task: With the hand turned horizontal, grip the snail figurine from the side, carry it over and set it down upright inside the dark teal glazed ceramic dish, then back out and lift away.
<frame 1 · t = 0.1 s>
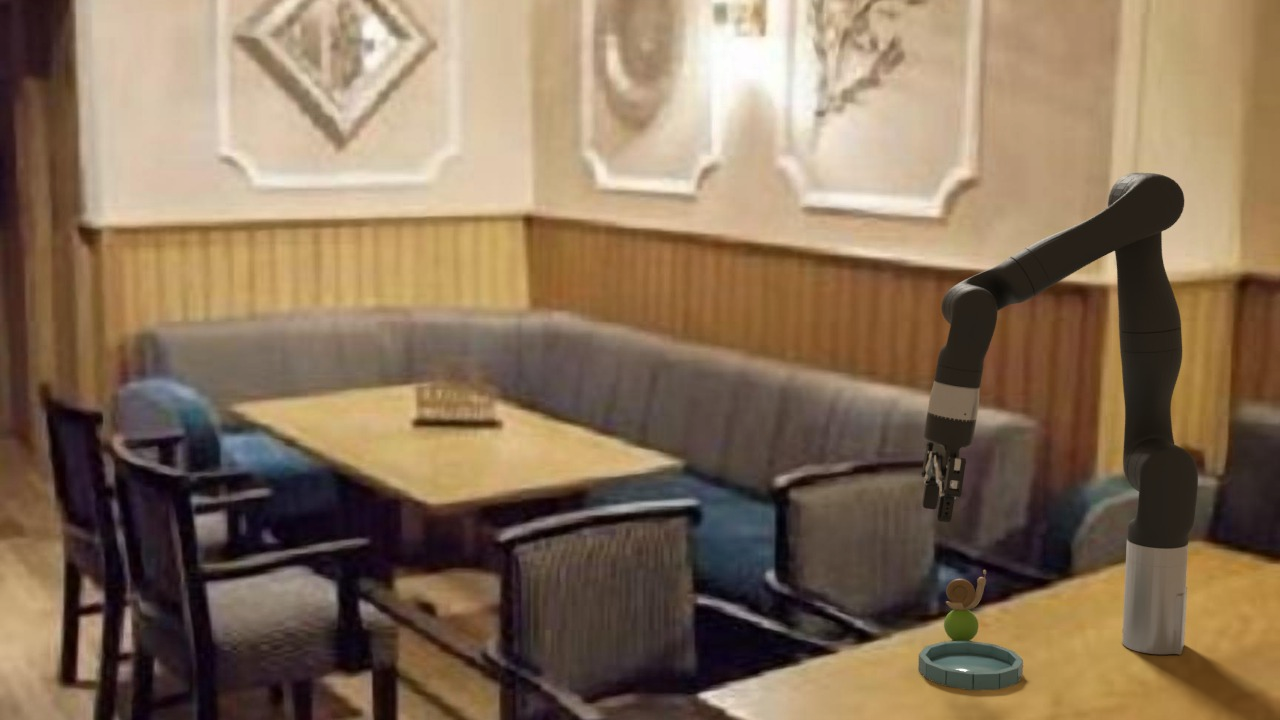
hand: (935, 514, 237), 22 cm above the table, tool pointing down, fingers open, 8 cm apart
dish: (970, 672, 231), on the table
snail figurine: (963, 642, 245), on the table
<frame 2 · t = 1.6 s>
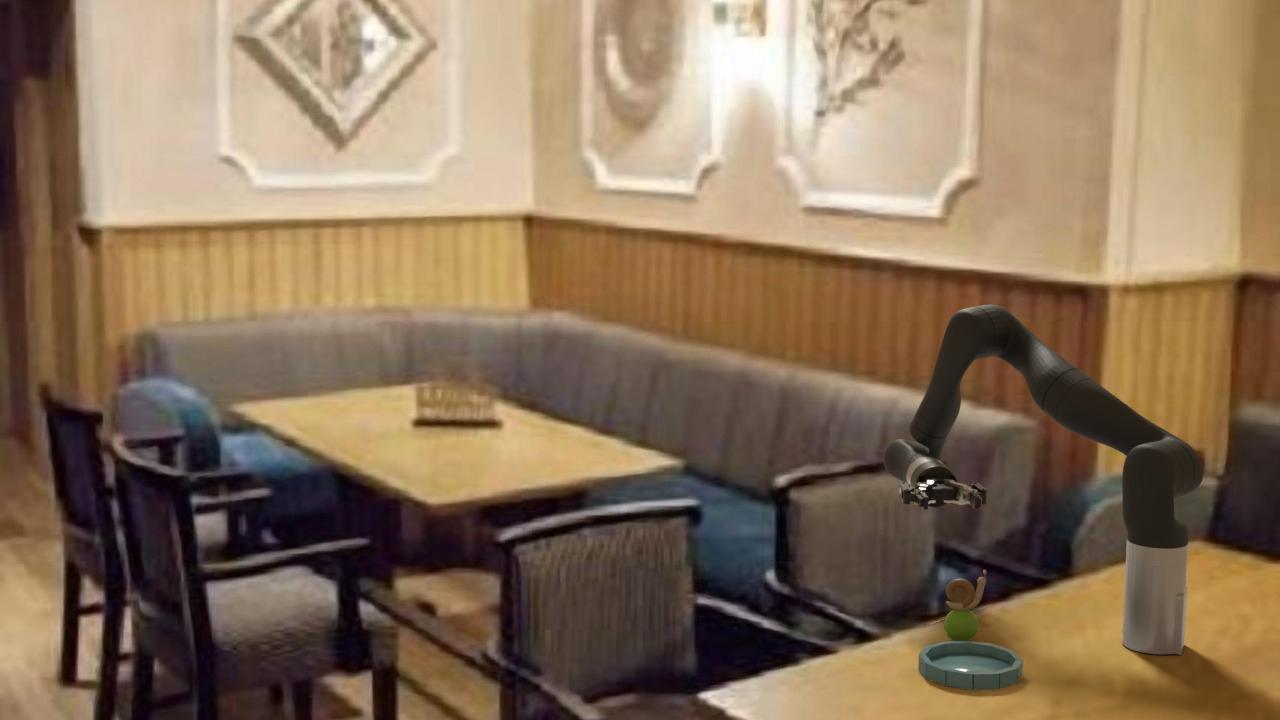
hand: (951, 503, 253), 20 cm above the table, tool horizontal, fingers open, 8 cm apart
nothing on the table moved.
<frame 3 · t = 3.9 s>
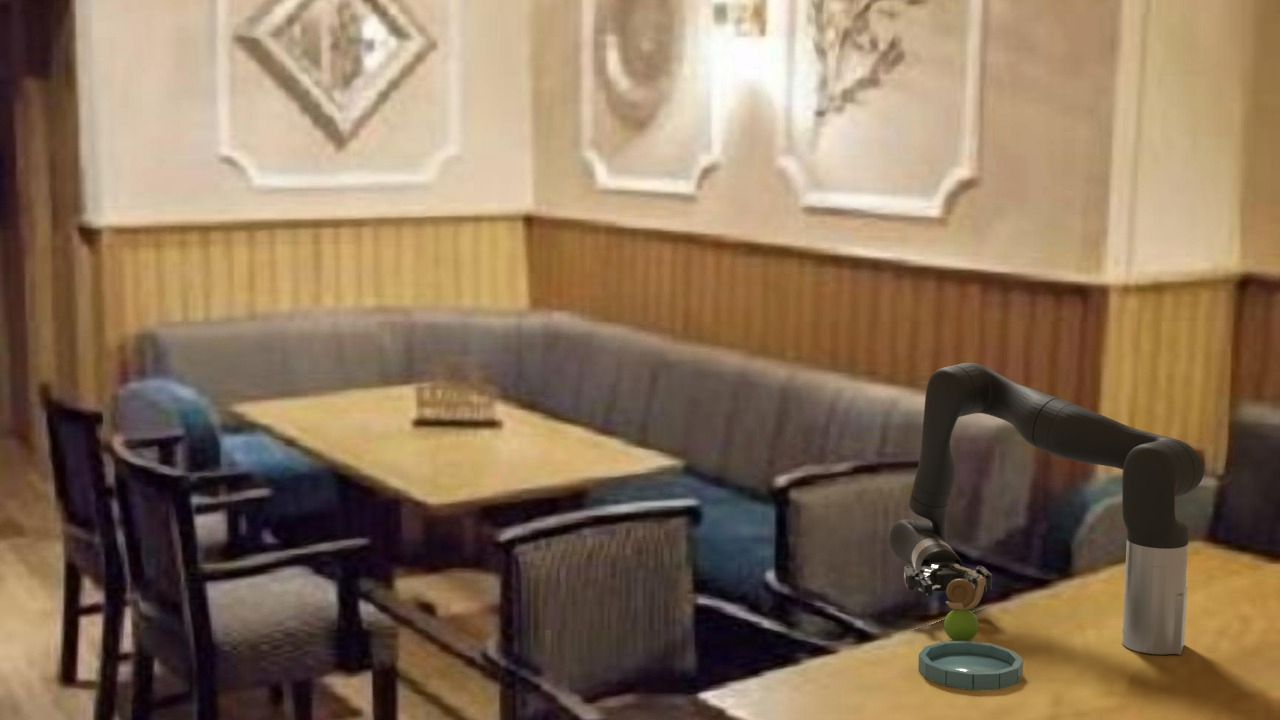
hand: (956, 590, 251), 6 cm above the table, tool horizontal, fingers open, 8 cm apart
nothing on the table moved.
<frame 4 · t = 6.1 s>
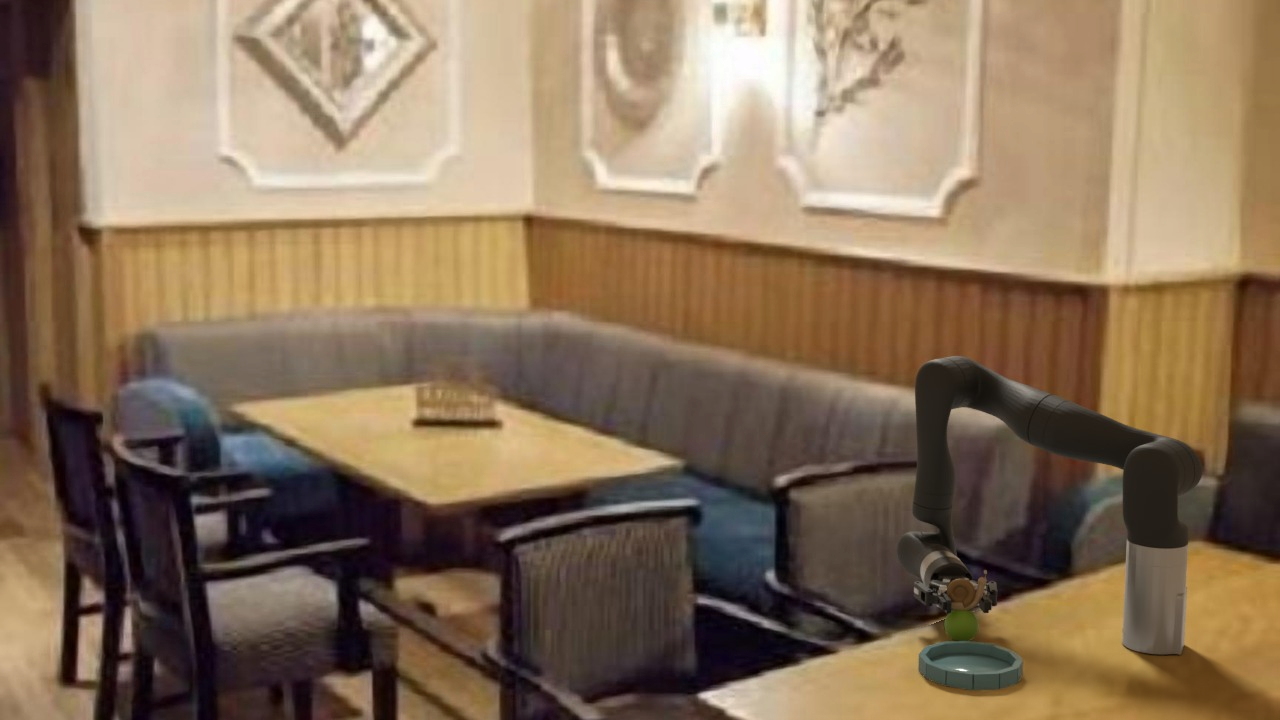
hand: (968, 607, 242), 7 cm above the table, tool horizontal, fingers closed on snail figurine, 5 cm apart
snail figurine: (963, 642, 245), on the table, touching gripper
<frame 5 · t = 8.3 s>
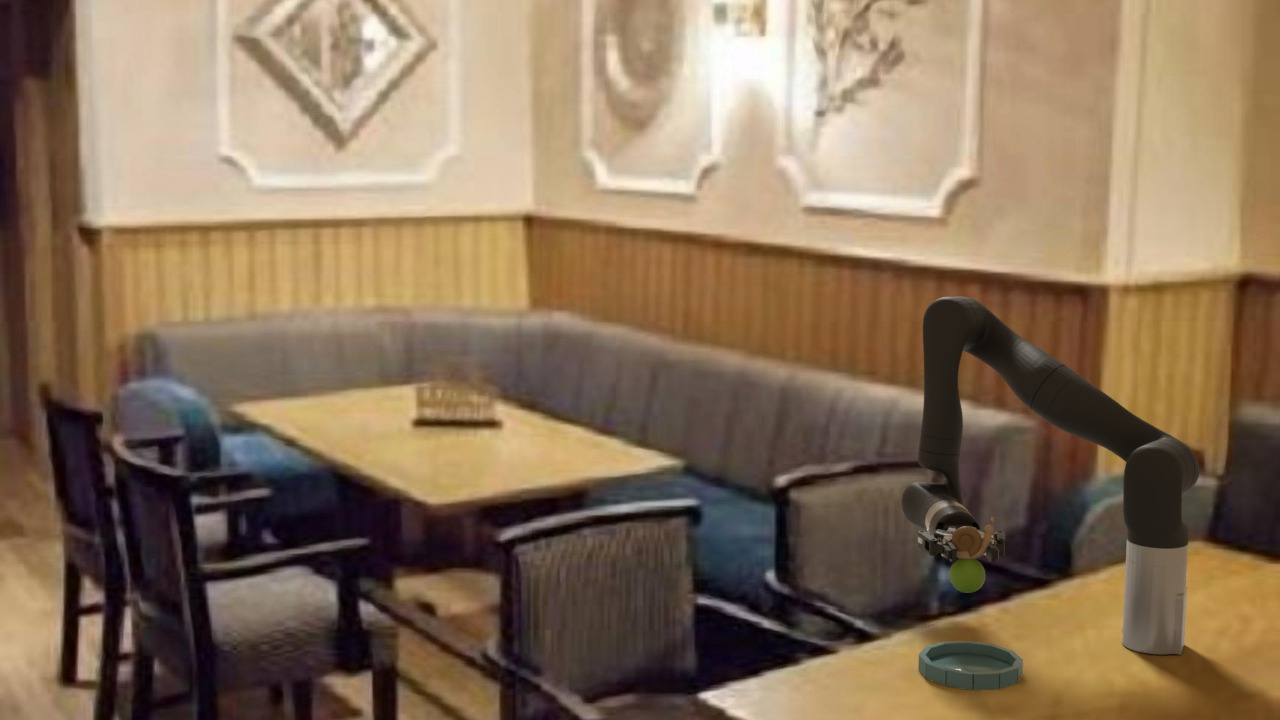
hand: (973, 555, 231), 18 cm above the table, tool horizontal, fingers closed on snail figurine, 5 cm apart
snail figurine: (969, 593, 234), point 11 cm above the table, touching gripper
when the fingers open (8 cm above the table, at t = 10.9 s): snail figurine moves 1 cm, resting on dish.
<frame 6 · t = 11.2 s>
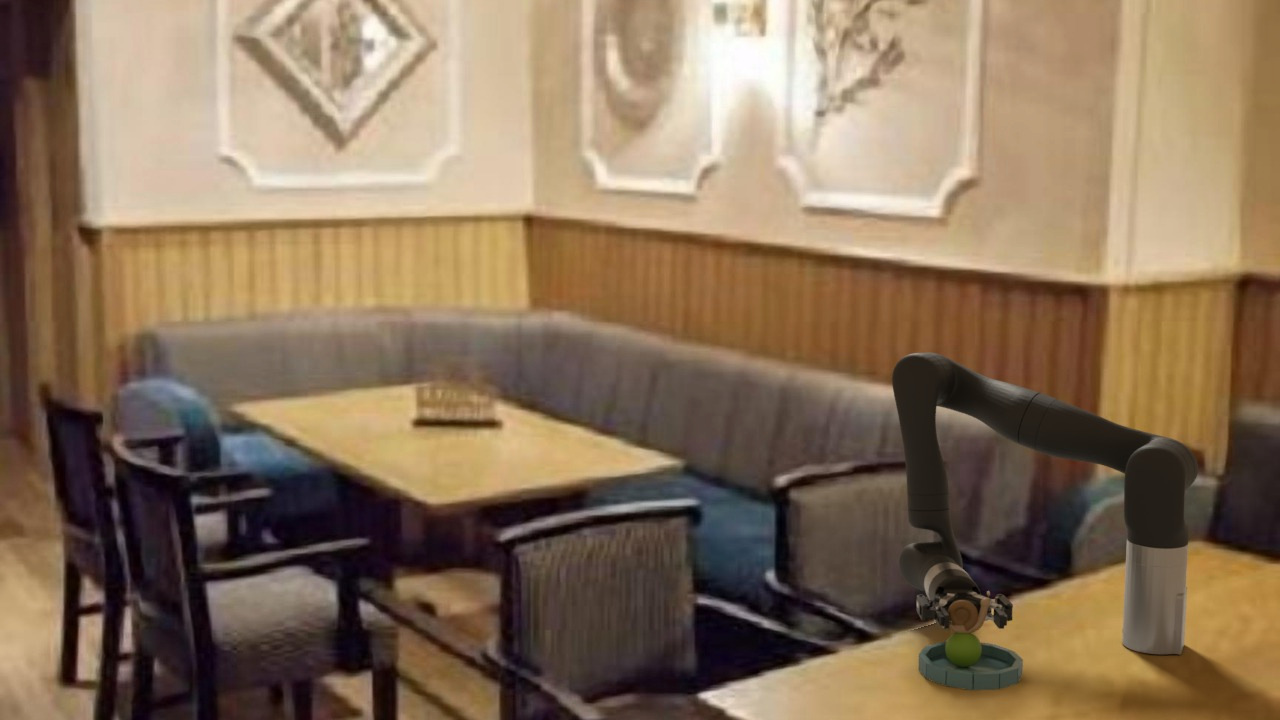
hand: (974, 622, 228), 8 cm above the table, tool horizontal, fingers open, 8 cm apart
snail figurine: (966, 667, 231), point 1 cm above the table, touching dish
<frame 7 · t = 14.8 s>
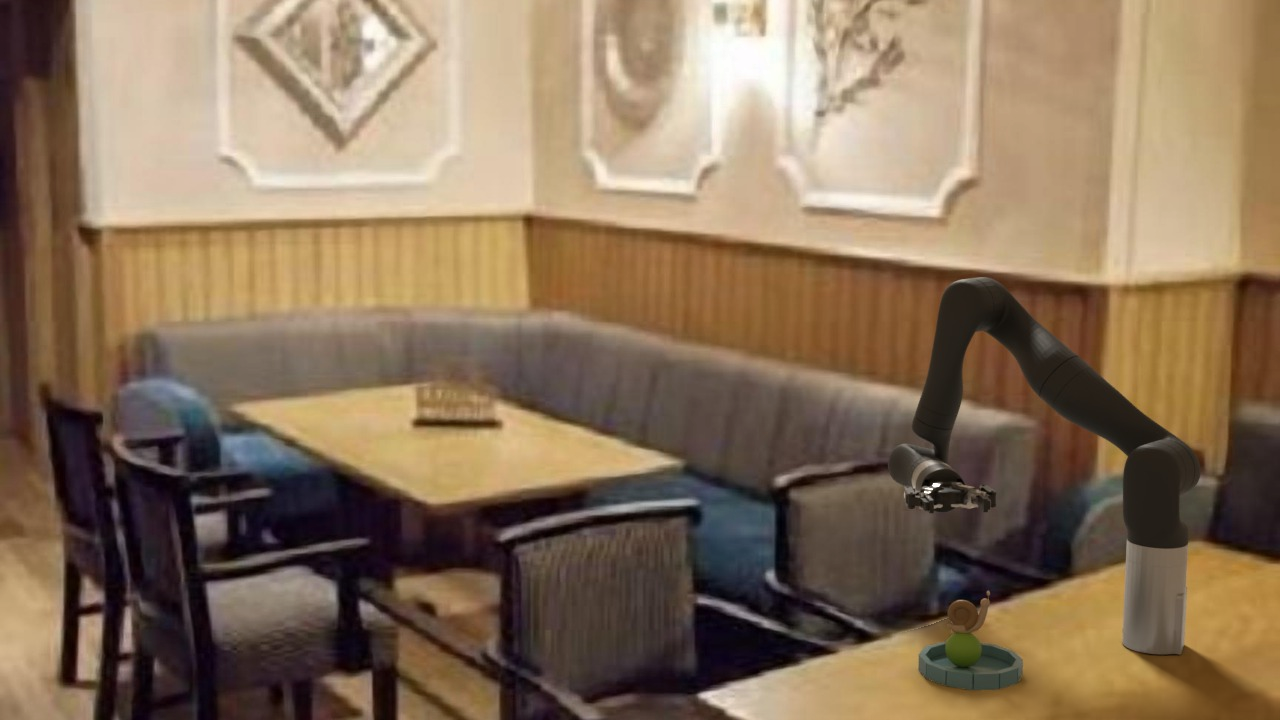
hand: (958, 506, 239), 23 cm above the table, tool horizontal, fingers open, 8 cm apart
nothing on the table moved.
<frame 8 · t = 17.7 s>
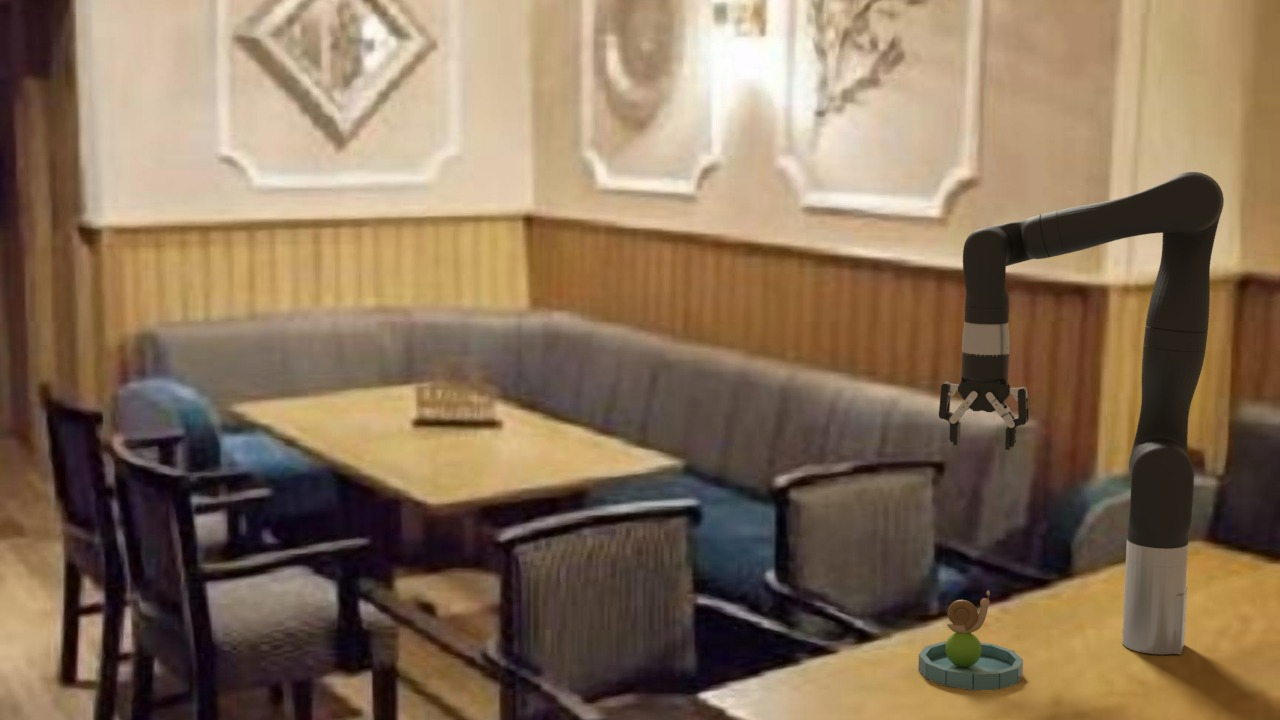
hand: (982, 447, 250), 30 cm above the table, tool pointing down, fingers open, 8 cm apart
nothing on the table moved.
at the end: snail figurine inside the target area on the dish (0.6 cm from its centre), point 0.6 cm above the dish's base; snail figurine tilted 0°; the gripper is holding nothing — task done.
